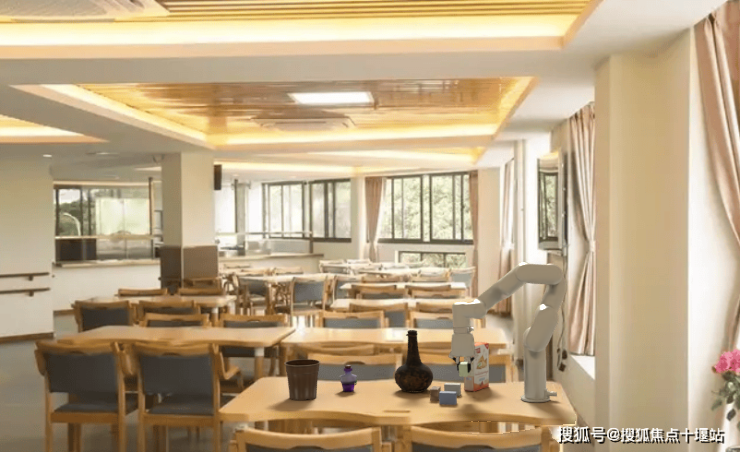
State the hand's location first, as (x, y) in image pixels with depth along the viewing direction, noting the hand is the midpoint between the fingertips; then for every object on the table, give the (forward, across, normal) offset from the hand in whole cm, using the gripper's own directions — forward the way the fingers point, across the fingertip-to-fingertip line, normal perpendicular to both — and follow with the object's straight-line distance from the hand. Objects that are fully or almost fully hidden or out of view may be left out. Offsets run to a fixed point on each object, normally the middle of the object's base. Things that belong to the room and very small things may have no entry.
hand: (464, 371), depth 366 cm
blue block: (+12, +6, +9) cm, 16 cm away
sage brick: (+1, 0, 0) cm, 1 cm away
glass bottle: (+11, +26, -15) cm, 32 cm away
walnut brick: (+12, +13, +1) cm, 18 cm away
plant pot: (+10, +72, +9) cm, 74 cm away
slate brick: (+12, +7, -9) cm, 17 cm away
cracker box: (+13, -2, -24) cm, 27 cm away
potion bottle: (+10, +56, -9) cm, 58 cm away
